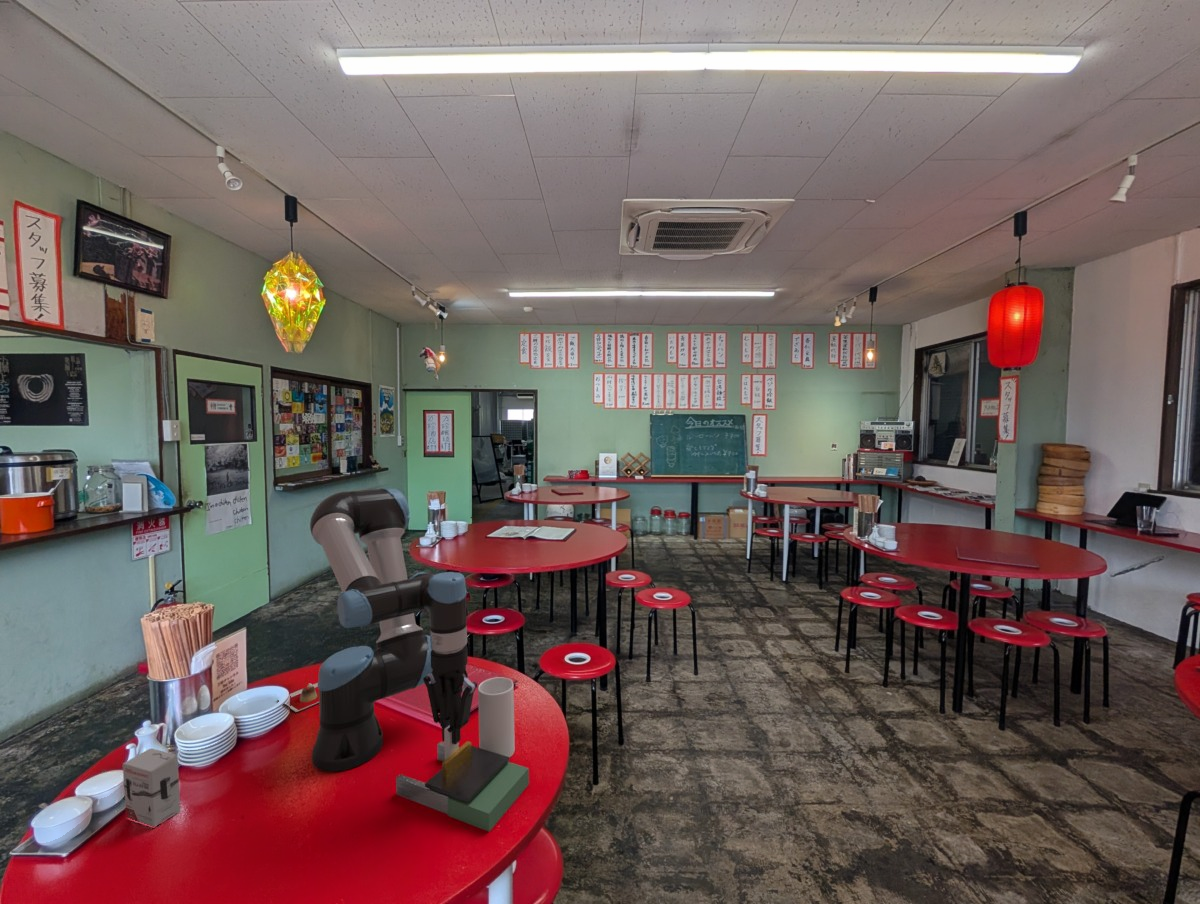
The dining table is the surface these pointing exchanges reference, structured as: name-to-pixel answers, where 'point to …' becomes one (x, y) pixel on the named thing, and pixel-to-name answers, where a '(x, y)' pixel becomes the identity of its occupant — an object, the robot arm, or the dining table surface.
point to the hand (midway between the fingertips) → (451, 756)
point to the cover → (467, 772)
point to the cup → (496, 716)
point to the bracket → (423, 789)
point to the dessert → (306, 695)
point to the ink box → (151, 787)
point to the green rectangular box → (491, 798)
